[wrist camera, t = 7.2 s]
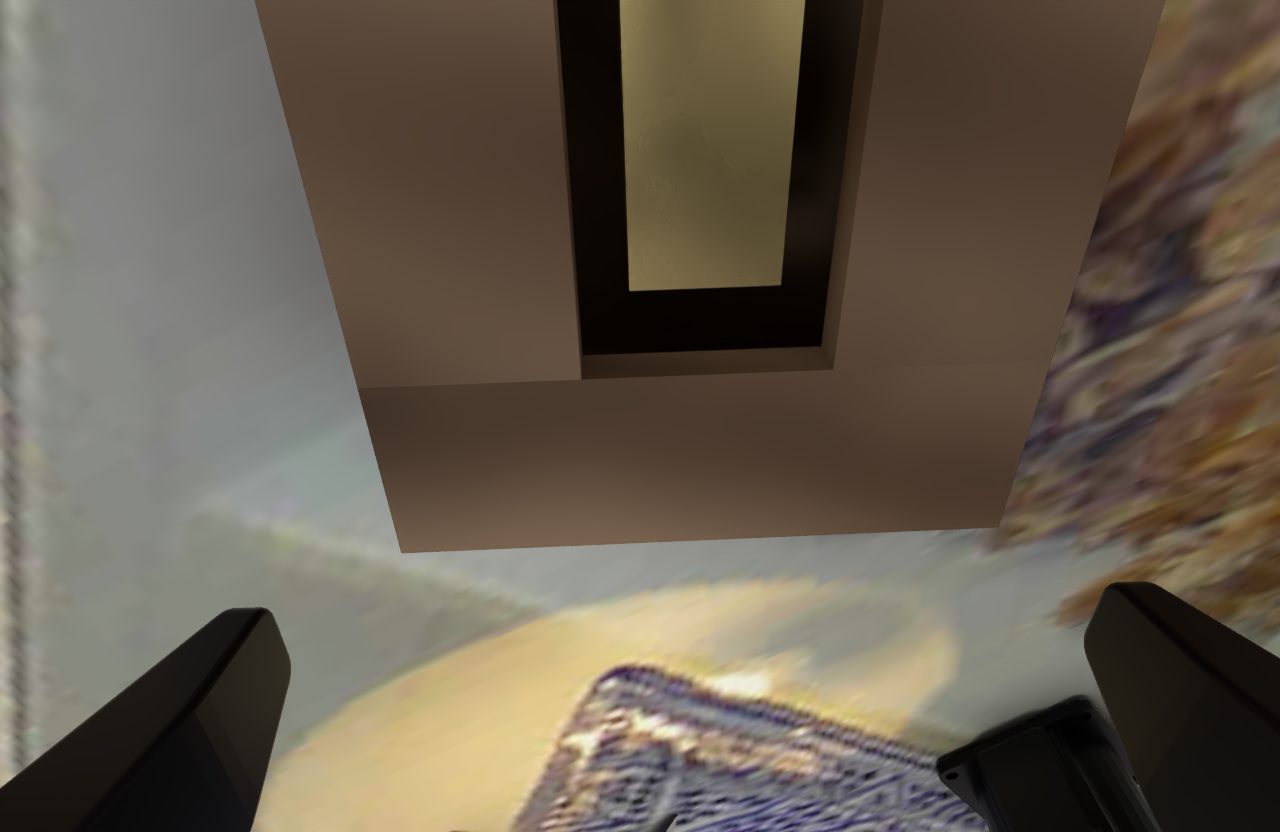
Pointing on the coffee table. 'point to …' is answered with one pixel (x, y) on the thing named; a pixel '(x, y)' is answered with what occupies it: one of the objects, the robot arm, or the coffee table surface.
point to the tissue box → (702, 317)
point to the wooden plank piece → (707, 138)
